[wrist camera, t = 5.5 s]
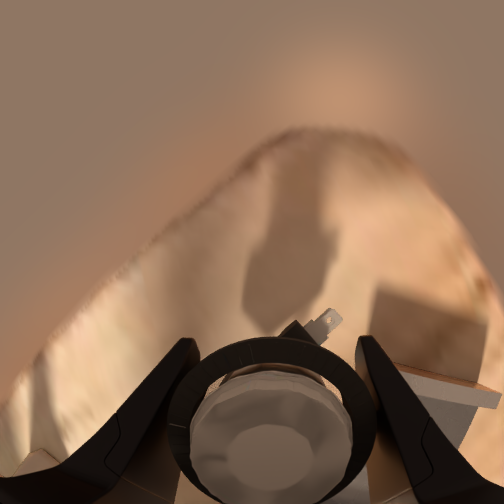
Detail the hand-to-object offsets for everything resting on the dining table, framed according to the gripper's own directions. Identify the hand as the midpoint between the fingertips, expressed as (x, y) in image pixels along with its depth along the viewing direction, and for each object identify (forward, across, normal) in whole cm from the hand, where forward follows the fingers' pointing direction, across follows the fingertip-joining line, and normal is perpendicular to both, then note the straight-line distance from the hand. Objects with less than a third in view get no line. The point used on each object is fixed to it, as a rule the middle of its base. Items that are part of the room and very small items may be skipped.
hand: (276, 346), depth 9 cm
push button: (+4, 0, +6) cm, 7 cm away
